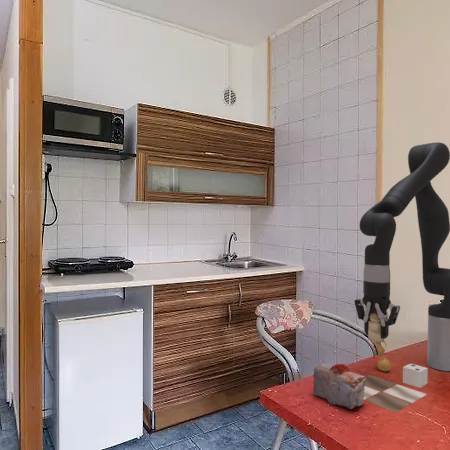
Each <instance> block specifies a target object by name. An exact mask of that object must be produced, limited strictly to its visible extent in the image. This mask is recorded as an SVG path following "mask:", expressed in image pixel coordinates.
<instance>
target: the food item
mask: <svg viewBox="0 0 450 450" xmlns="http://www.w3.org/2000/svg"><path fill="white" fill-rule="evenodd" d="M366 376H367V375H366ZM366 376H365V375H361V374H358V373H355V372H352V371H350V367H348V365H347V366H346V364H344V363H336V364H335V365H333V364H330V363H328V362H327V363H323V362H322V363H320V364H318V365H316V366H315V367H314V368H313V392H312V394H313V395H315V396H317V397H320V398H322V399H324V400H327V401H328V403H329V404H330V405H335V406H337V405H338V406H340V407H344V408H347V409H349V410H352V409H354V408H358V407H360V406H363V405H364V402H365V400H364V390H365V389H364V386H365V382H366Z"/></svg>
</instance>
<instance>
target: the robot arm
mask: <svg viewBox="0 0 450 450" xmlns="http://www.w3.org/2000/svg"><path fill="white" fill-rule="evenodd" d="M449 162H450V149H449V147H448V146H447V145H446V143H444V142H439V141H437V142H432V143H431V142H430V143H423V144H419V145H414V146H412V147H411V148H410V150H409V152H408V156H407V163H408V169H409V174H408V175H407V176H405V177H404V178H402V179H401V180H399V181H397V182H396V183H395V184H394V185H393V186H391V188H390V189H389V190H388V191H387V192H386V194H385V195H384V196H383V198H382V199H381V200H380V201H379V202H377V203H376V204H374V205H373V206H372V207H371V208H369V209H368V210H366V212H364V214H363V215H362V217H361V218H360V220H359V229H360V232H361V233H362V235H364V236H368V237H375V239H374V241H373V243H372V244H368V245H366V246H365V248H364V266H363V275H362V276H363V278H362V279H363V282H362V283H363V285H362V286H363V287H362V289H363V290H362V293H363V297H362V298H356V299H354V300H353V301H354V306H355V310H356V313H357V318H358V319H359V320H362V321H363V323H364V324H363V325H364V327H363V328H364V329H363V330H364V334H365V335H366V336H368V321H369V320H370V315H371V314H372V313H376V314H378V317H379V319H380V321H381V325H382V326H381V339H384V340H385V339H387V338H388V337H389V333H390V331H389V329H390V326H393V325H395V324H397V323H396V322H397V319H398V315H399V314H400V310H401V306H400V305H396V304H393V303H392V302H391V300H390V299H391V298H390V297H391V269H390V261H391V259H390V257H391V255H390V251H391V248H392V245H393V242H394V238H395V235H396V232H397V222H396V219H395V218H396V217H399V216H400V215H401V214H403V212H404V211H405V210H406V209H407V207H408V205H409V204H410V203H411V202H412V201H413V199H415V204H416V212H417V213H416V214H417V223H418V230H419V236H420V245H421V256H422V257H421V259H422V262H421V263H422V264H421V265H422V283H423V287H424V290H425V291H426V292H427V293H429V294H430V295H431V294H432V295H438V296H443V299H442V300H443V301H442V302H440V303H436V304H430V305H429V306H428V309H427V310H428V311H427V354H426V355H427V357H426V358H427V359H426V360H427V361H426V362H427V364H426V365H427V366H428V367H430V368H433V369H436V370H439V371H443V372H444V371H445V372H450V268H445V267H444V268H443V267H440V266H439V253H440V250H441V248H442V247H443V245H444V244H445V242H446V240H447V239H448V236H449V235H450V212H449V209H448V207H447V206H446V203H445V202H444V201H443V199H441V197H440V196H439V194H438V193H437V192H436V190H435V189H434V187H433V184H432V183H431V181H433V179H435V178H436V177H437V175H438V176H439V174H440V173H441V172H442V171H443V170H445V168H447V166H448V164H449ZM364 306H365V307H366V308H364ZM388 309H389V311H390V313H388Z"/></svg>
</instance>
